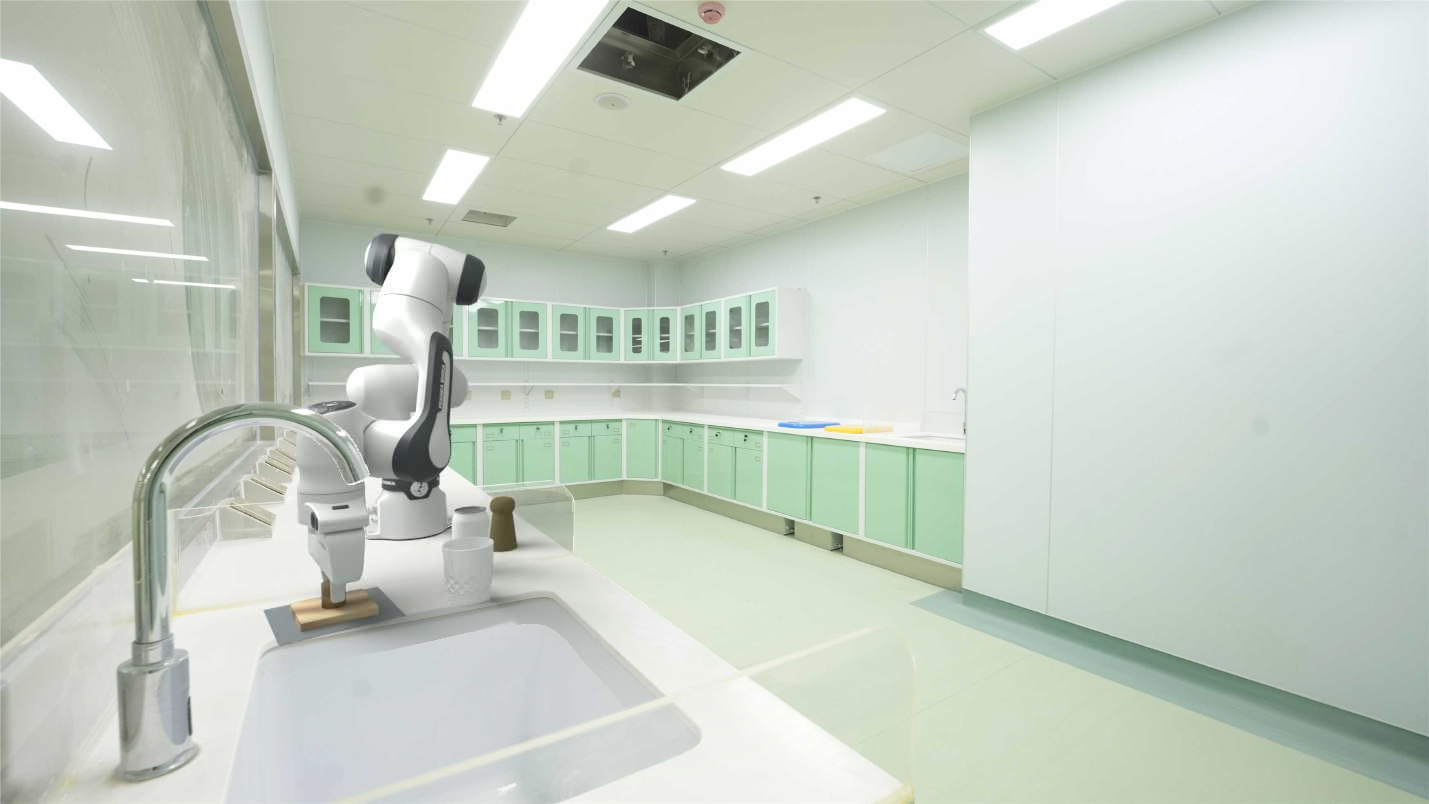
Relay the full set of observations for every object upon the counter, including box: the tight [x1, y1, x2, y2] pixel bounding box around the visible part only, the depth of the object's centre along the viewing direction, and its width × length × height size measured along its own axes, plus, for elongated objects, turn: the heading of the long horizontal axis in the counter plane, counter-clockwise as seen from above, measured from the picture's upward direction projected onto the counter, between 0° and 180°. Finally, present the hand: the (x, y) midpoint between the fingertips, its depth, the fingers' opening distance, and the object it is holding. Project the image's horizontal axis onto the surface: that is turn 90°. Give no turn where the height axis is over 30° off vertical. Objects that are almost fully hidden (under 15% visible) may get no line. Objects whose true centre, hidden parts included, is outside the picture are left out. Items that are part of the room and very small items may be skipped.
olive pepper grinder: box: [489, 495, 518, 553], centre depth 132 cm, size 6×6×11 cm
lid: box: [289, 580, 379, 632], centre depth 95 cm, size 10×10×5 cm
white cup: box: [441, 537, 494, 607], centre depth 102 cm, size 8×8×10 cm
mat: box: [263, 586, 406, 647], centre depth 95 cm, size 16×16×1 cm
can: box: [451, 505, 490, 540], centre depth 117 cm, size 6×6×12 cm
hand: (333, 596), depth 95 cm, fingers closed on lid, 3 cm apart
